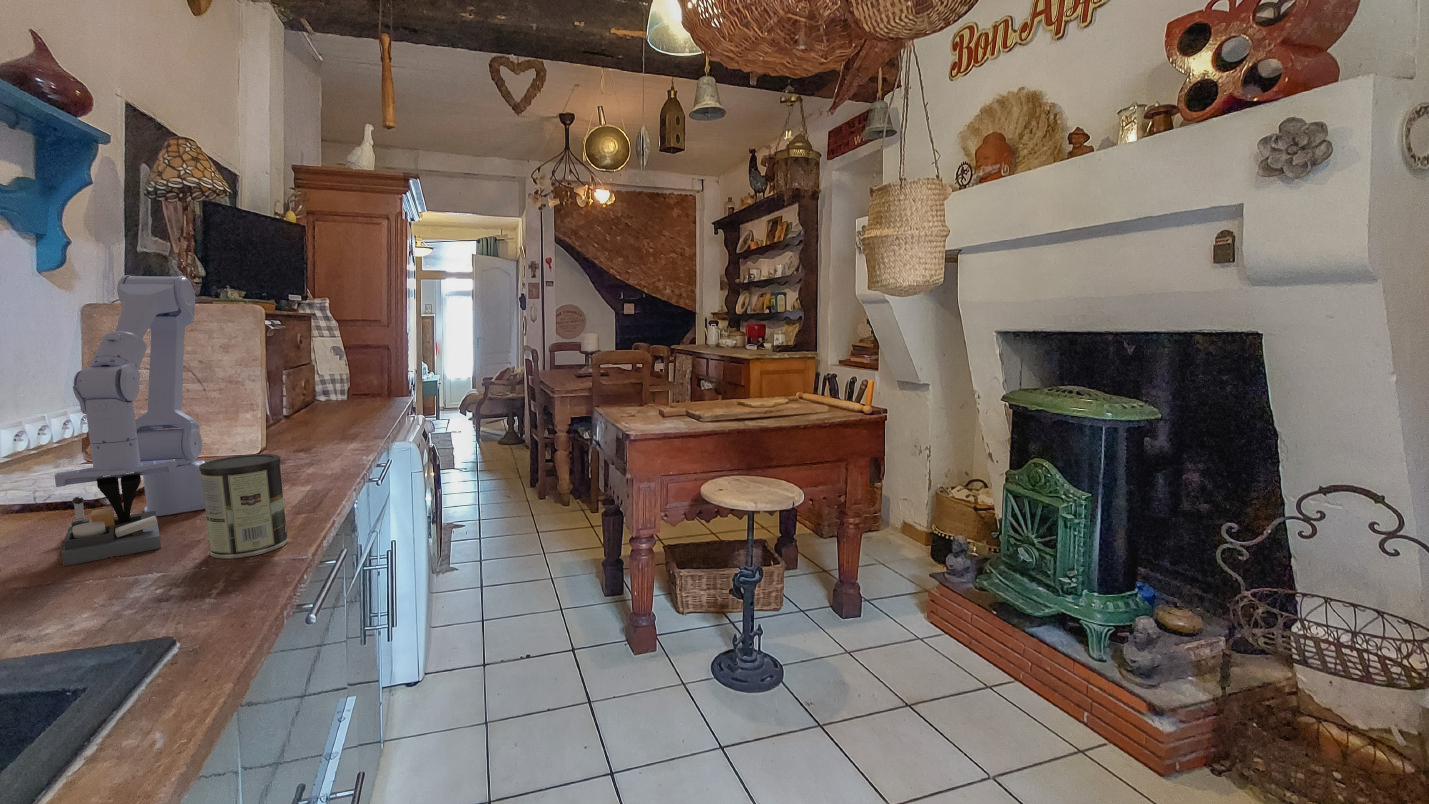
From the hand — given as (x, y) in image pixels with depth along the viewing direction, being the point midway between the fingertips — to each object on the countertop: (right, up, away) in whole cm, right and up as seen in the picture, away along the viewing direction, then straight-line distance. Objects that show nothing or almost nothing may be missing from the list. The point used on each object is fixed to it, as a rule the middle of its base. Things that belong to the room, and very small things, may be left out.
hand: (124, 521), depth 107 cm
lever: (-8, 0, 0) cm, 8 cm away
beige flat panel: (+5, -1, -3) cm, 6 cm away
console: (0, -3, -1) cm, 3 cm away
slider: (-2, -1, -1) cm, 3 cm away
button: (+1, -1, -7) cm, 7 cm away
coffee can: (+23, -4, -4) cm, 24 cm away
